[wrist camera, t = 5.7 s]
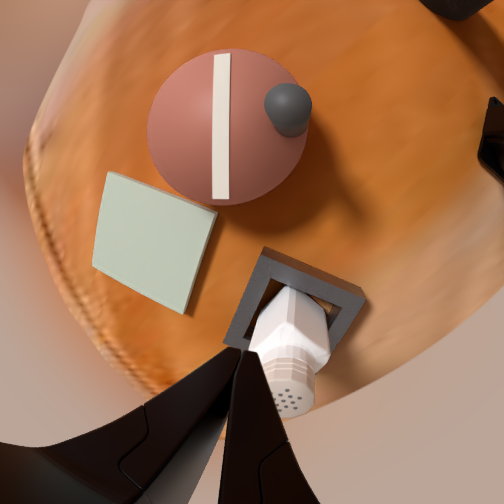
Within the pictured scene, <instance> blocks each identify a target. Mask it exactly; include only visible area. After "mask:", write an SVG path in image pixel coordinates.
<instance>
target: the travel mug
mask: <svg viewBox="0 0 504 504" xmlns="http://www.w3.org/2000/svg"><path fill="white" fill-rule="evenodd" d="M420 1H421V2H422V3H423V4H424V5H426V6H427V7H428V8H430V9H431V10H433V11H434V12H436V13H438V14H439V15H441V16H443V17H446V18H448V19H451V20H455V21H462V20H465V19H467V18H469V17H470V16H472V15H473V14H475V13H476V12H477V11H479V10H480V9H482V8H483V7H485V6H486V5H488V4H489V3H491V2H492V1H494V0H420Z"/></svg>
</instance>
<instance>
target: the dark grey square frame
mask: <svg viewBox="0 0 504 504" xmlns="http://www.w3.org/2000/svg"><path fill="white" fill-rule="evenodd" d="M270 278H272V279H275V280H277V281H279V282H282V283H284V284H286V285H289V286H291V287H294V288H296V289H298V290H301V291H303V292H306V293H308V294H310V295H313V296H315V297H318V298H320V299H322V300H325V301H327V302H330V303H332V304H334V305H333V307H332V309H331V311H330V312H329V314H328V316H327V317H326V322H327V329H328V337H329V345H330V354H331V353H332V352H333V350H334V349H335V347H336V346H337V344H338V343H339V341H340V340H341V338H342V337H343V335H344V334H345V332H346V331H347V329H348V328H349V326H350V325H351V323H352V322H353V320H354V318H355V317H356V315H357V314H358V312H359V310H360V309H361V307H362V305H363V304H364V302H365V300H366V298H365V296H364V294H363V291H362V289H361V287H358V286H356V285H354V284H351V283H349V282H347V281H344V280H342V279H340V278H338V277H335V276H333V275H331V274H328V273H326V272H324V271H321V270H319V269H317V268H315V267H312V266H310V265H308V264H305V263H303V262H301V261H298V260H296V259H294V258H291V257H289V256H287V255H284V254H282V253H280V252H277V251H275V250H273V249H270V248H268V247H266V246H264V248H263V250H262V252H261V254H260V256H259V259H258V261H257V264H256V266H255V268H254V271H253V273H252V275H251V278H250V280H249V282H248V285H247V287H246V290H245V292H244V294H243V297H242V299H241V301H240V304H239V306H238V308H237V311H236V313H235V315H234V318H233V320H232V322H231V325H230V327H229V329H228V332H227V334H226V336H225V339H224V341H223V343H224V344H226V345H229V346H231V347H234V348H239V349H241V350H242V351H243V350H248V349H249V346H250V343H251V339H252V336H253V333H254V329H255V327H253V326H250V325H249V324H250V322H251V319H252V317H253V315H254V313H255V311H256V309H257V307H258V304H259V302H260V300H261V298H262V296H263V294H264V292H265V289H266V287H267V285H268V283H269V281H270ZM316 374H317V373H315V375H316Z"/></svg>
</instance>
